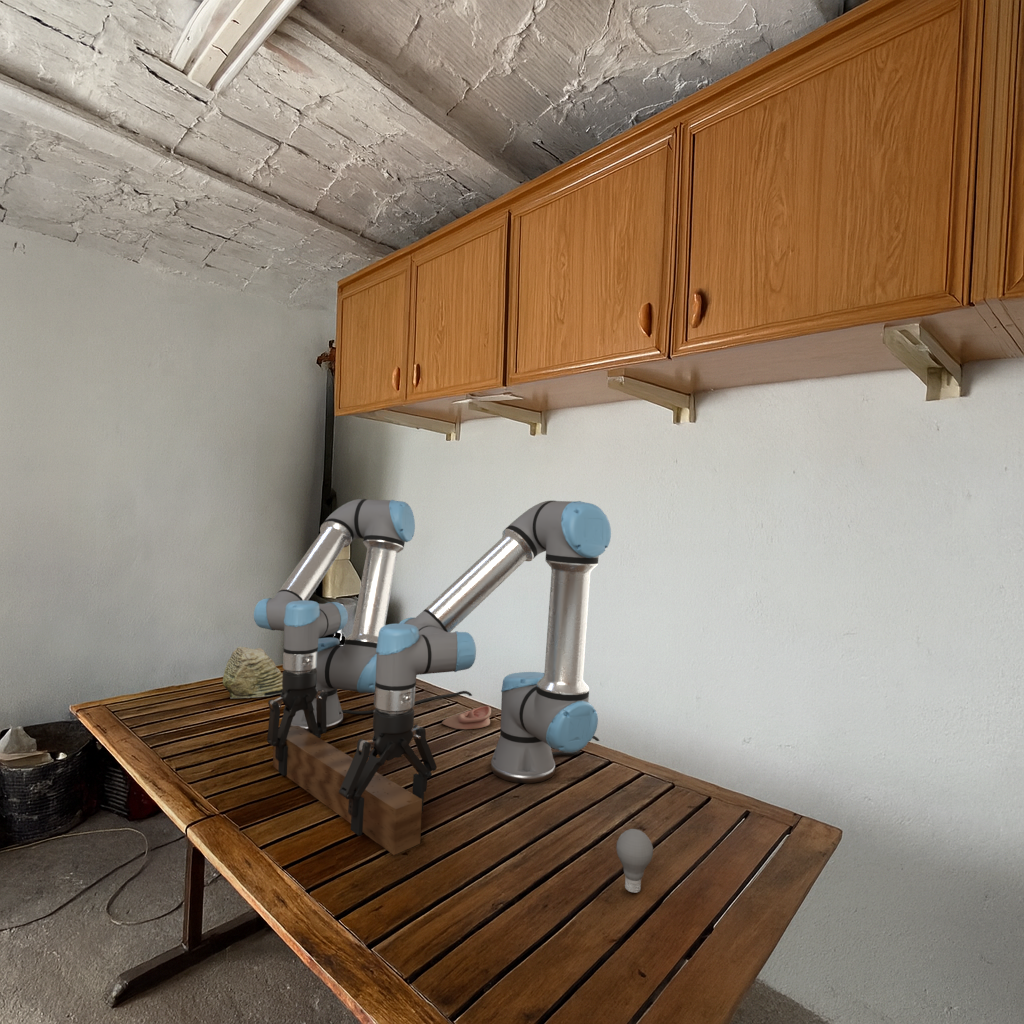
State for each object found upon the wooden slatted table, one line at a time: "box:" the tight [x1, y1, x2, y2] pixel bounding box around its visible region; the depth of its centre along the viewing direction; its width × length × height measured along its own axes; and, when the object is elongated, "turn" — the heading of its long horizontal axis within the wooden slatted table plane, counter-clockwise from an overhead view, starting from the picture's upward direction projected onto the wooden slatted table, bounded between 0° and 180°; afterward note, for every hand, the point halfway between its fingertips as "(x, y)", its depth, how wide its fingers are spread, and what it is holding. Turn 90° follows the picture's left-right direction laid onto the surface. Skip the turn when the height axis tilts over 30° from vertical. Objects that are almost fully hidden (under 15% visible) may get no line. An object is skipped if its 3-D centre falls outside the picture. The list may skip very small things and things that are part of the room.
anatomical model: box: [441, 705, 492, 730], centre depth 181 cm, size 13×4×12 cm
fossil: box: [222, 646, 283, 699], centre depth 198 cm, size 9×18×15 cm, turn 132°
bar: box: [272, 726, 422, 856], centre depth 132 cm, size 49×6×8 cm, turn 45°
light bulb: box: [615, 828, 654, 894], centre depth 106 cm, size 6×6×10 cm
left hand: (296, 769), depth 145 cm, fingers closed on bar, 6 cm apart
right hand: (388, 820), depth 119 cm, fingers open, 13 cm apart
